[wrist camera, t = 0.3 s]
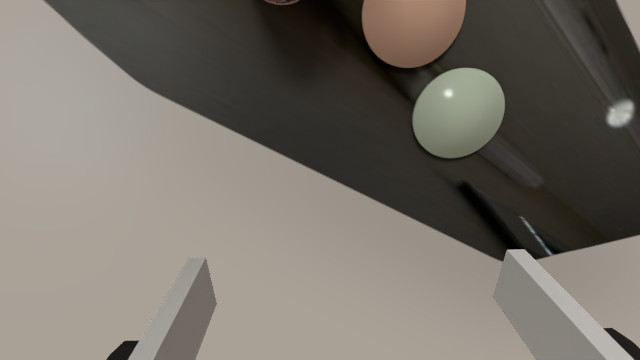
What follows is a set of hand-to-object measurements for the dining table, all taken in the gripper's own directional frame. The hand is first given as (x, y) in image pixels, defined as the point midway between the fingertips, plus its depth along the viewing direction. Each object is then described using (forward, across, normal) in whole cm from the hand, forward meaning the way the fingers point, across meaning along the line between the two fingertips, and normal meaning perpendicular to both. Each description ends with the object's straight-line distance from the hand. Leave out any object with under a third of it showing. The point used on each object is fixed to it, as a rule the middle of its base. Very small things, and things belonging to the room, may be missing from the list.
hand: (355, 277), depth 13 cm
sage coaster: (+27, +16, +1) cm, 31 cm away
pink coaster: (+27, +9, +12) cm, 31 cm away
